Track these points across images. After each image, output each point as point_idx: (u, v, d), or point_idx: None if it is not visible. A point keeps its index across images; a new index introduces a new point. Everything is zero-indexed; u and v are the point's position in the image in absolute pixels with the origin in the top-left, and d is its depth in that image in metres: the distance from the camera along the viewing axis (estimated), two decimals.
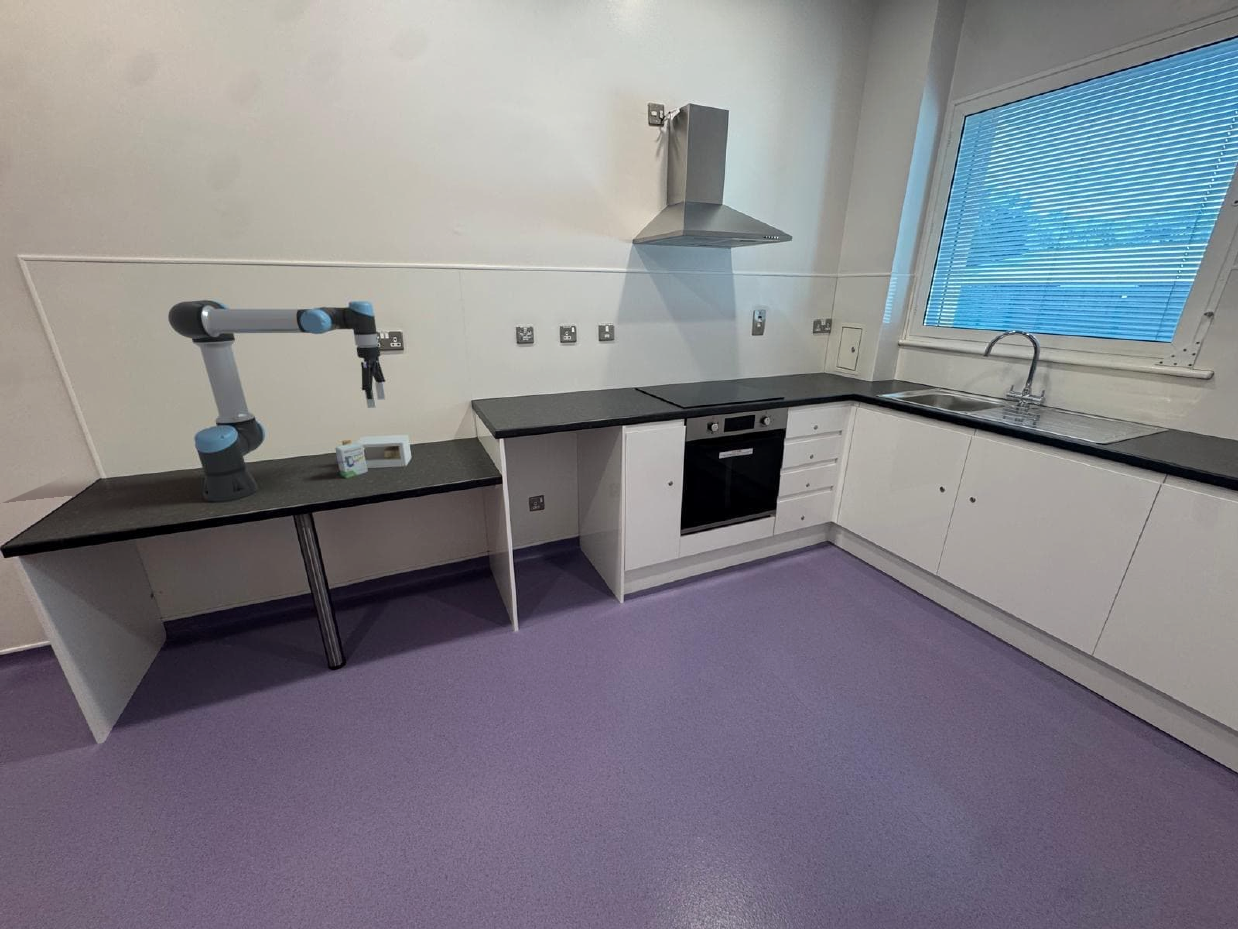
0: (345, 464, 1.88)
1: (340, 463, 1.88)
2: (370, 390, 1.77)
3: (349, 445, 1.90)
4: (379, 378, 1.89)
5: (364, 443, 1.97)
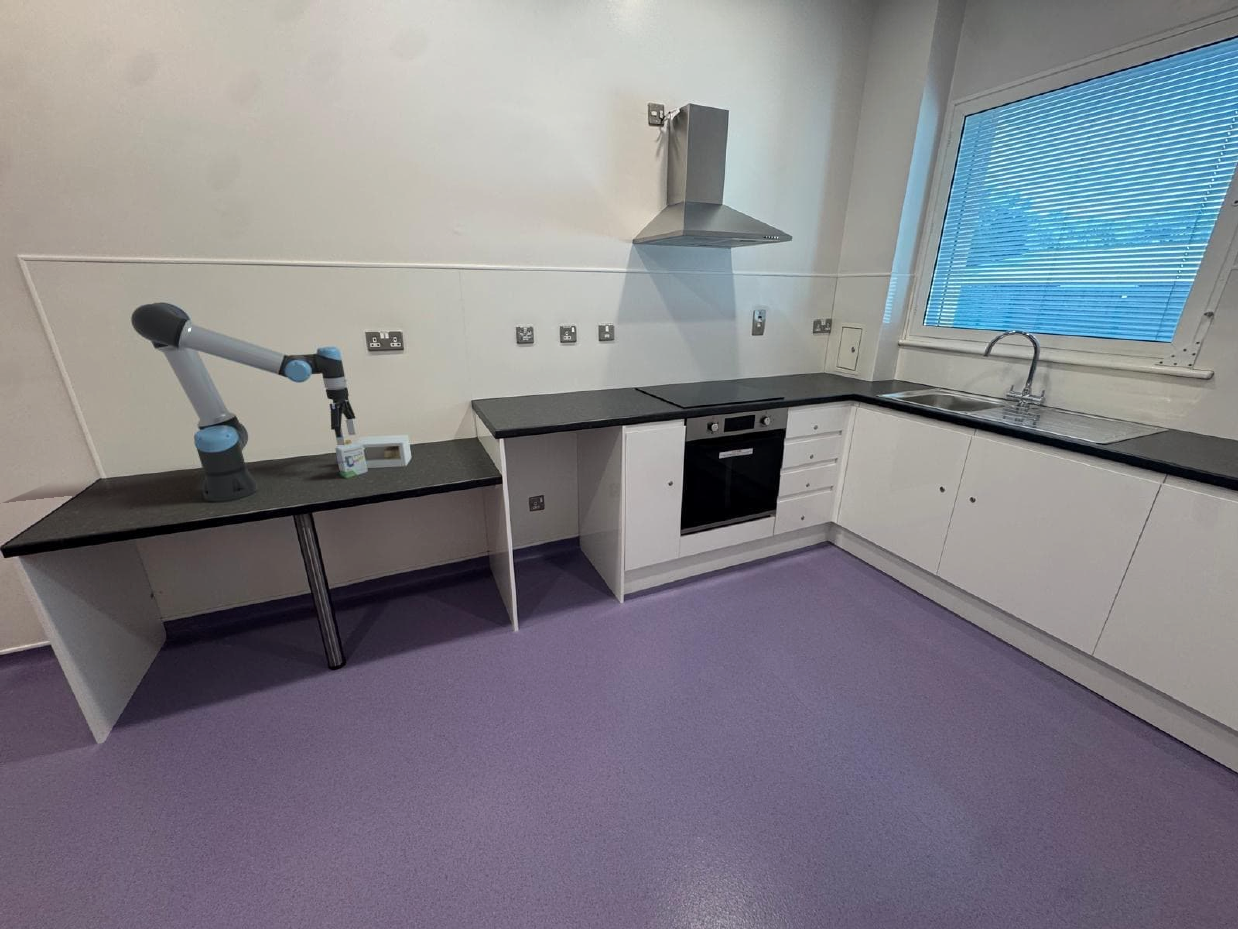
0: (345, 464, 1.88)
1: (340, 463, 1.88)
2: (339, 429, 1.91)
3: (349, 445, 1.90)
4: (349, 415, 2.02)
5: (364, 443, 1.97)
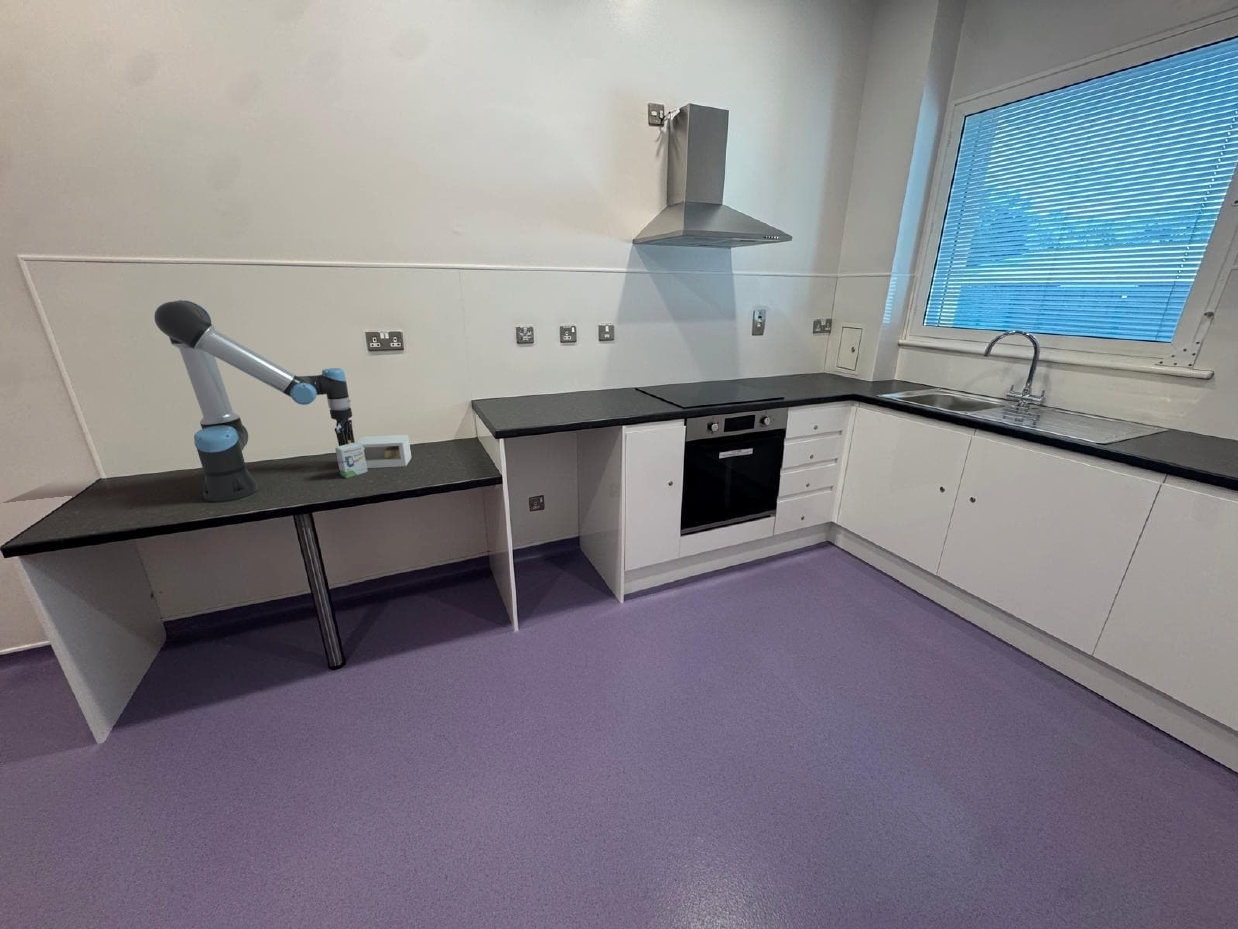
0: (345, 464, 1.88)
1: (340, 463, 1.88)
2: None
3: (349, 445, 1.90)
4: None
5: (364, 443, 1.97)
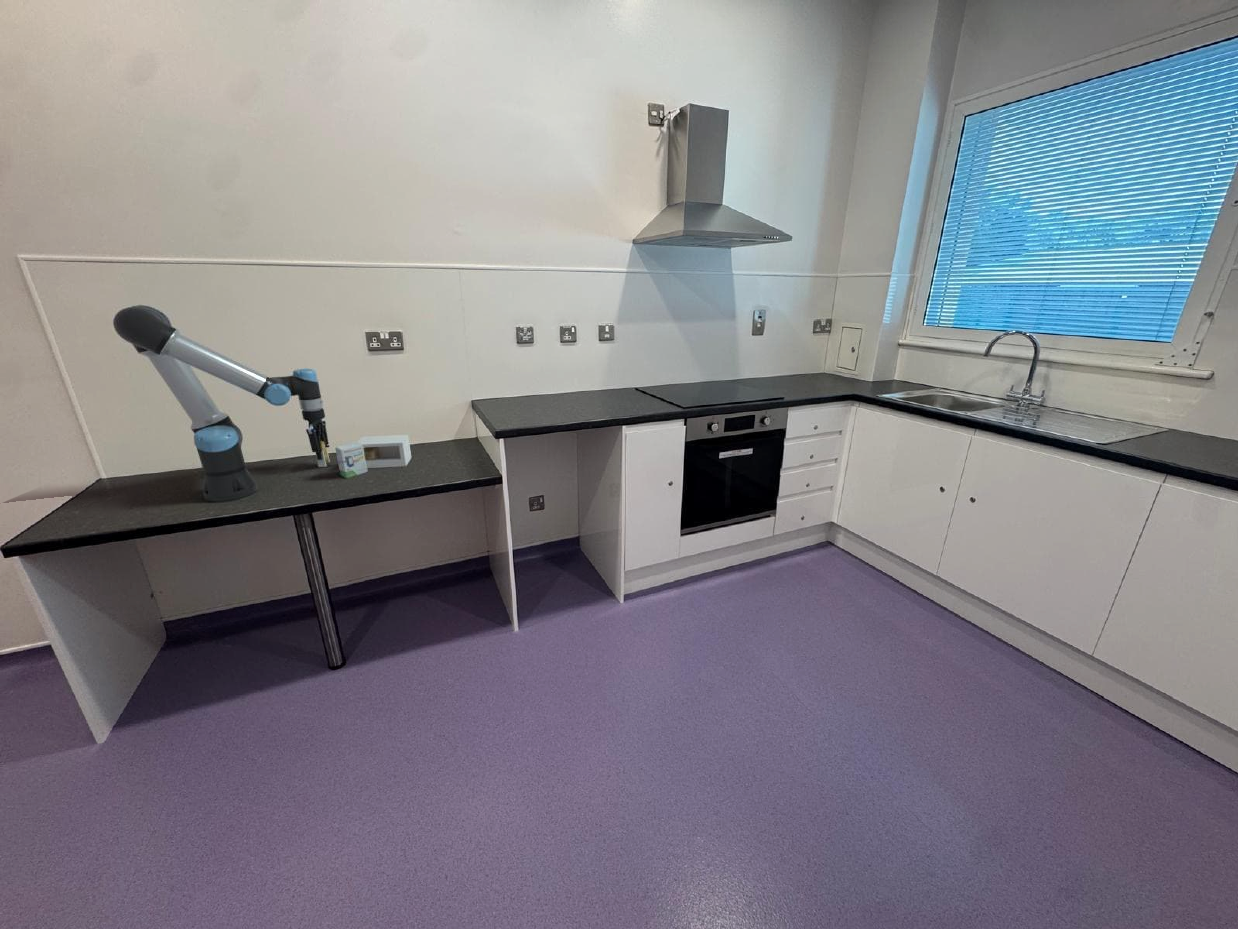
0: (345, 464, 1.88)
1: (340, 463, 1.88)
2: None
3: (349, 445, 1.90)
4: None
5: (364, 443, 1.97)
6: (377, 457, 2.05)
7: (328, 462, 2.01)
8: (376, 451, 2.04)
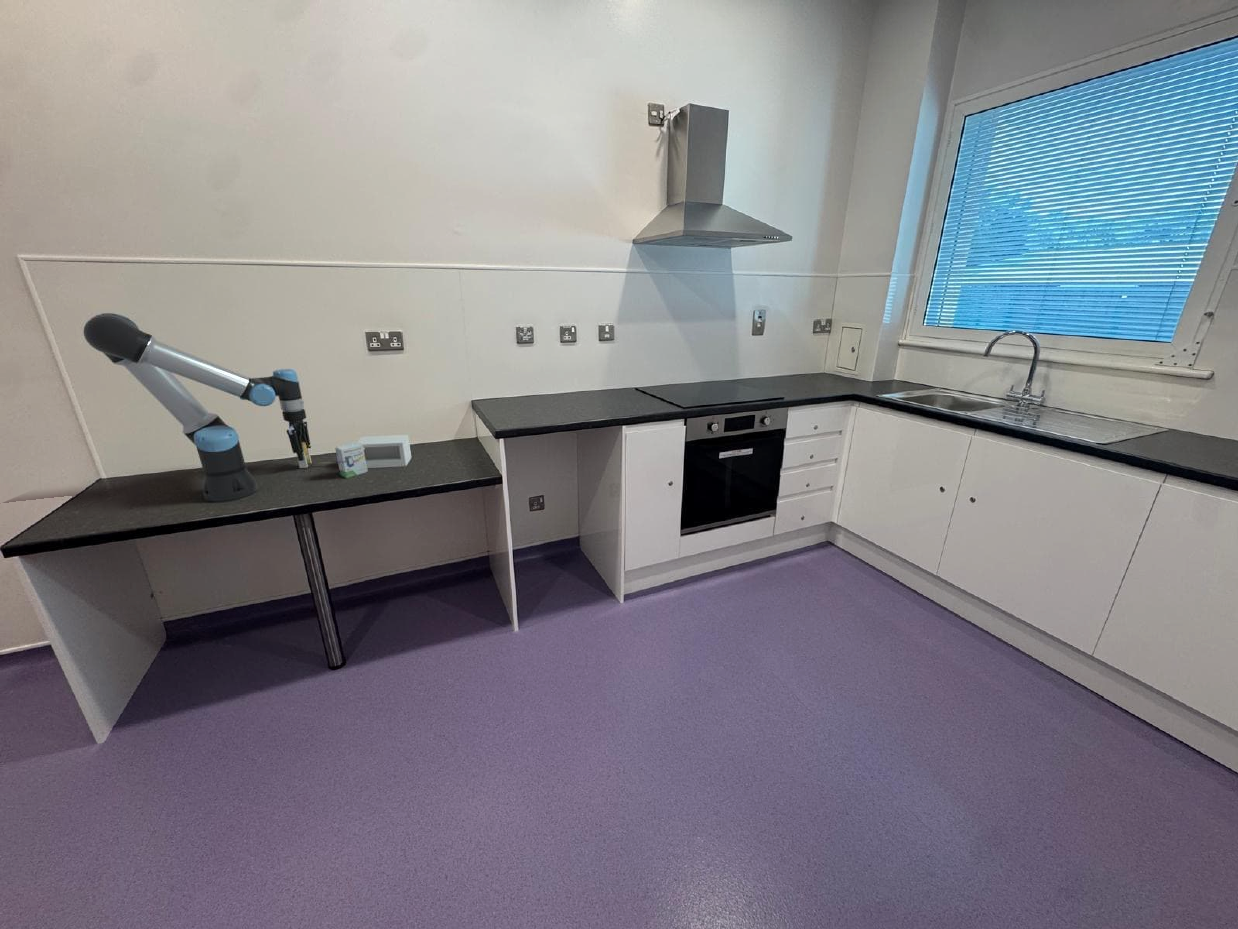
0: (345, 464, 1.88)
1: (340, 463, 1.88)
2: None
3: (349, 445, 1.90)
4: None
5: (364, 443, 1.97)
6: None
7: (310, 463, 2.00)
8: None
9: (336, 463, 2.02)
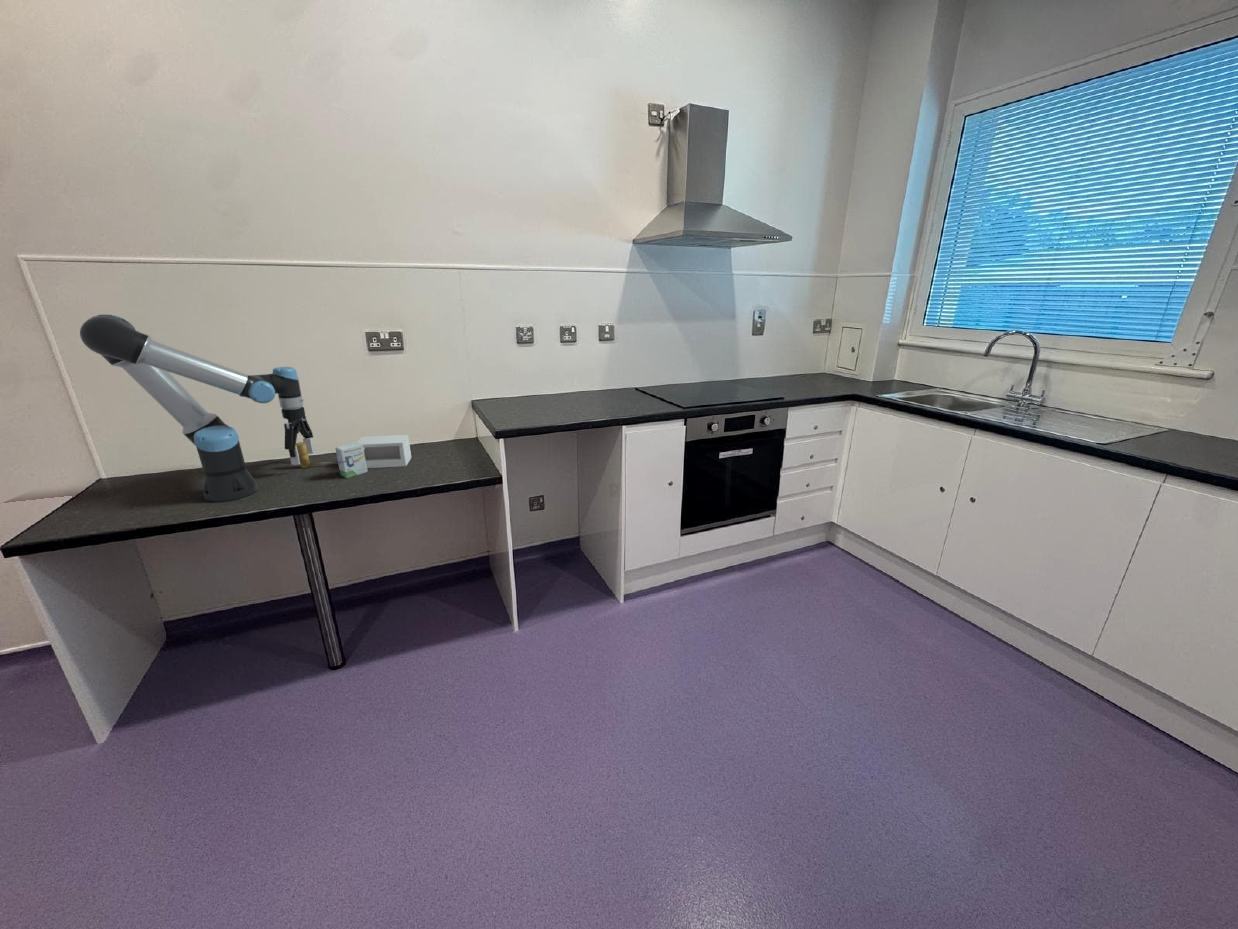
0: (345, 464, 1.88)
1: (340, 463, 1.88)
2: (293, 449, 1.90)
3: (349, 445, 1.90)
4: (306, 434, 2.02)
5: (364, 443, 1.97)
6: None
7: (309, 463, 2.00)
8: None
9: (336, 463, 2.02)
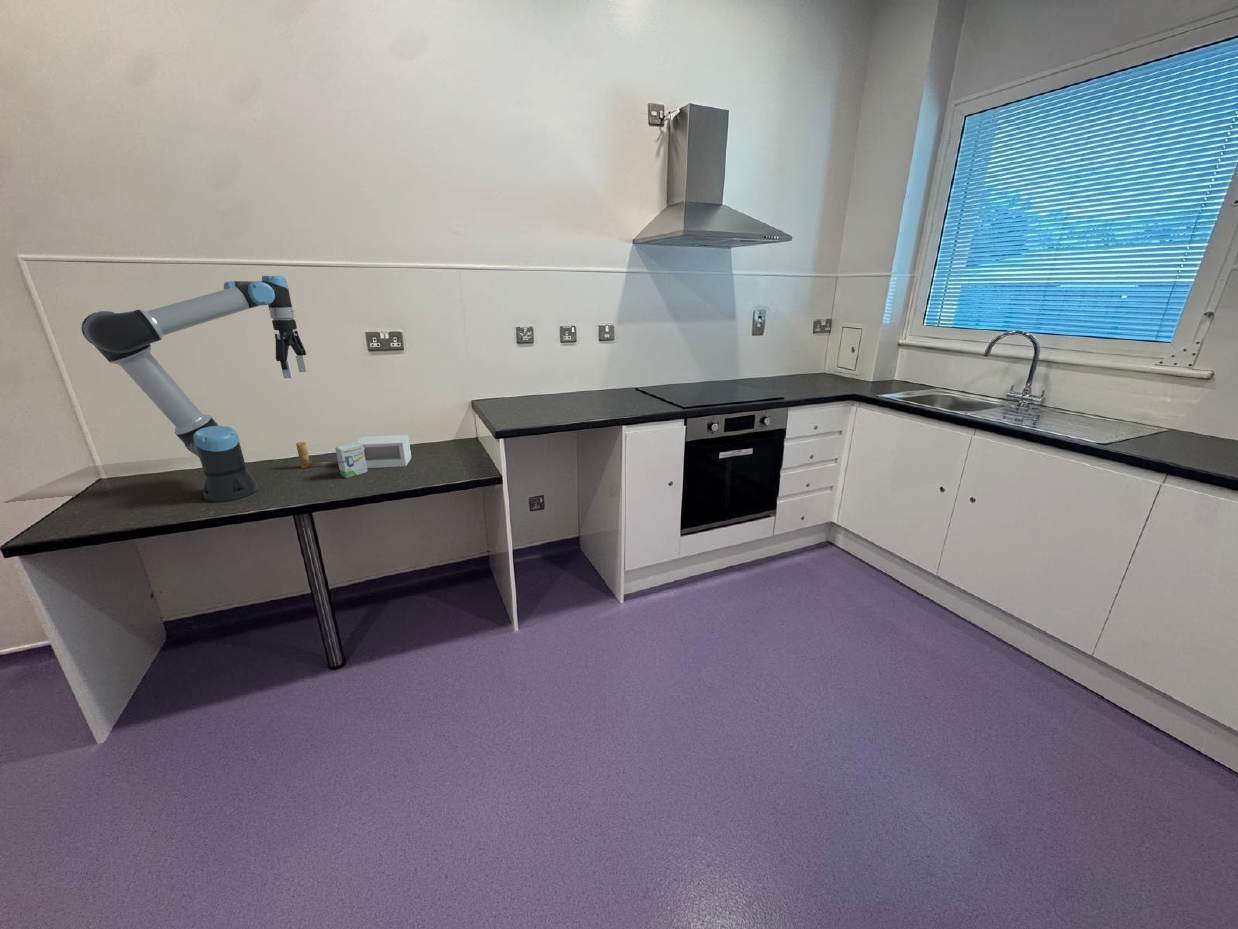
0: (345, 464, 1.88)
1: (340, 463, 1.88)
2: (285, 361, 1.85)
3: (349, 445, 1.90)
4: (299, 351, 1.97)
5: (364, 443, 1.97)
6: None
7: (309, 463, 2.00)
8: None
9: (336, 463, 2.02)
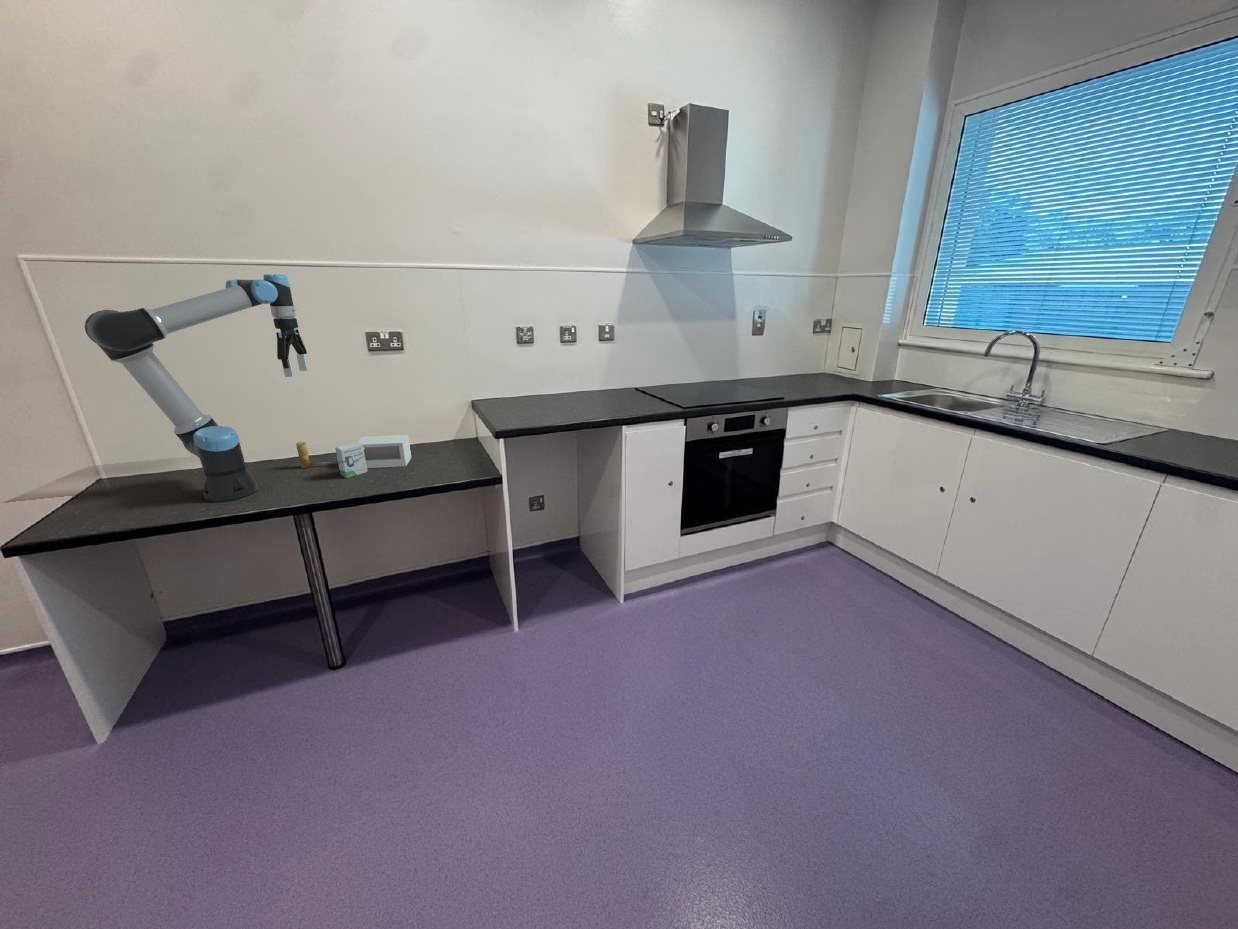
0: (345, 464, 1.88)
1: (340, 463, 1.88)
2: (286, 359, 1.85)
3: (349, 445, 1.90)
4: (300, 350, 1.97)
5: (364, 443, 1.97)
6: None
7: (309, 463, 2.00)
8: None
9: (336, 463, 2.02)
